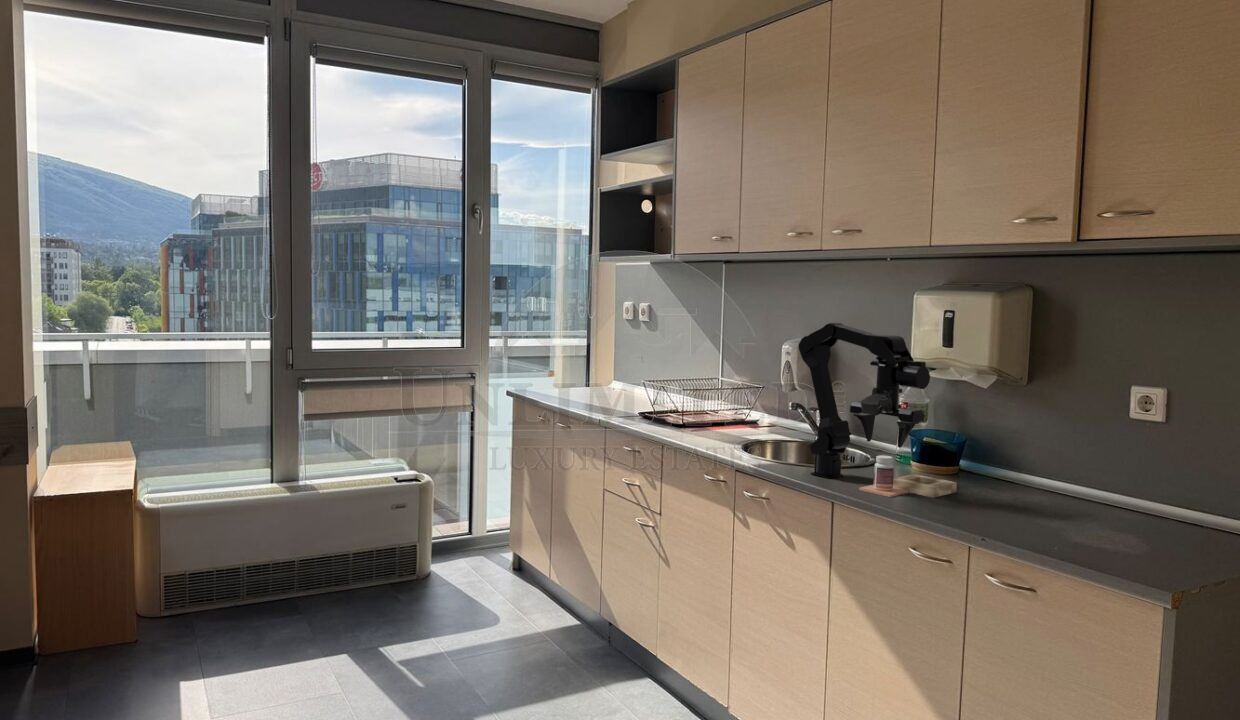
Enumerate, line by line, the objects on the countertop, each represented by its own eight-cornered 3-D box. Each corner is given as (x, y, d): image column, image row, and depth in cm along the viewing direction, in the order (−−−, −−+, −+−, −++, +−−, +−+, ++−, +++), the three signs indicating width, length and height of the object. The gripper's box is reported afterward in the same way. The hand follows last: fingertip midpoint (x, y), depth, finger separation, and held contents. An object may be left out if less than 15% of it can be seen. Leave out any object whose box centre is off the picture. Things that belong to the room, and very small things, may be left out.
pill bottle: (896, 490, 215) (898, 458, 214) (881, 491, 213) (882, 458, 213) (884, 486, 219) (886, 454, 219) (869, 487, 218) (871, 455, 217)
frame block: (891, 488, 220) (891, 478, 220) (914, 483, 227) (914, 473, 227) (933, 497, 211) (933, 487, 211) (956, 492, 218) (956, 482, 218)
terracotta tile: (859, 489, 217) (859, 487, 217) (877, 486, 222) (877, 483, 222) (890, 497, 210) (890, 494, 210) (907, 492, 215) (907, 490, 215)
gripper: (838, 381, 219) (835, 441, 220) (902, 390, 204) (897, 453, 205) (864, 379, 226) (860, 437, 227) (927, 388, 211) (923, 449, 212)
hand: (884, 444), depth 218 cm, fingers open, 9 cm apart
